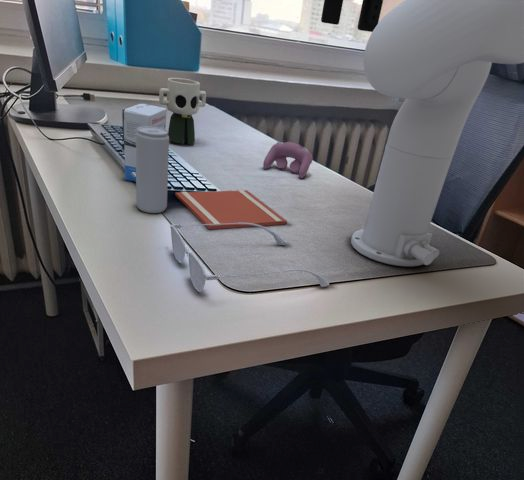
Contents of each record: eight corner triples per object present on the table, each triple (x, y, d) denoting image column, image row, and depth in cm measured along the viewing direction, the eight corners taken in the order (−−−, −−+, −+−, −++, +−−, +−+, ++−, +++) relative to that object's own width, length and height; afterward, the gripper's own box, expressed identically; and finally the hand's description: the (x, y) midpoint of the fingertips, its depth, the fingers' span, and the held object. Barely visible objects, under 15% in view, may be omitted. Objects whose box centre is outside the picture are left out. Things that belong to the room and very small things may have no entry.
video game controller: (307, 183, 111) (317, 151, 110) (302, 177, 107) (313, 144, 106) (266, 172, 114) (276, 140, 113) (260, 166, 110) (270, 133, 109)
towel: (286, 224, 85) (287, 220, 85) (208, 229, 79) (209, 225, 78) (246, 193, 95) (247, 189, 95) (175, 195, 89) (175, 191, 89)
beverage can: (130, 205, 82) (129, 126, 76) (157, 202, 85) (158, 125, 78) (146, 216, 80) (146, 135, 73) (172, 212, 82) (175, 133, 76)
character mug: (163, 146, 114) (165, 82, 107) (153, 137, 119) (154, 75, 112) (208, 147, 119) (213, 85, 112) (197, 139, 124) (201, 79, 117)
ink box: (149, 185, 92) (150, 114, 85) (123, 180, 92) (122, 109, 85) (166, 173, 99) (168, 107, 92) (141, 168, 99) (142, 102, 92)
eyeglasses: (167, 247, 71) (168, 220, 69) (282, 242, 78) (286, 217, 76) (203, 303, 60) (205, 272, 58) (332, 290, 67) (339, 262, 65)
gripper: (441, -120, 65) (402, 37, 74) (359, -111, 77) (335, 23, 86) (396, -135, 61) (361, 31, 71) (318, -123, 73) (298, 18, 83)
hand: (347, 27), depth 79 cm, fingers open, 9 cm apart
